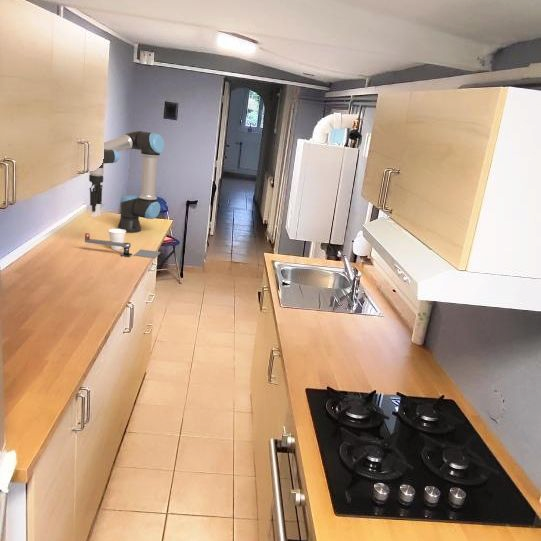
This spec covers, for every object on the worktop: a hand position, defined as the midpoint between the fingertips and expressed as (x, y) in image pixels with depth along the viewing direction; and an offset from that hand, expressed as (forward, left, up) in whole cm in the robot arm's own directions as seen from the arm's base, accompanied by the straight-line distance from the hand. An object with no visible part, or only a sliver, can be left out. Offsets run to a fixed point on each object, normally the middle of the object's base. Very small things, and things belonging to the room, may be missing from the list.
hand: (95, 215), depth 311 cm
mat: (+1, +31, -19) cm, 36 cm away
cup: (-2, +12, -19) cm, 22 cm away
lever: (+9, +10, -14) cm, 19 cm away
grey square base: (+9, +21, -19) cm, 29 cm away
